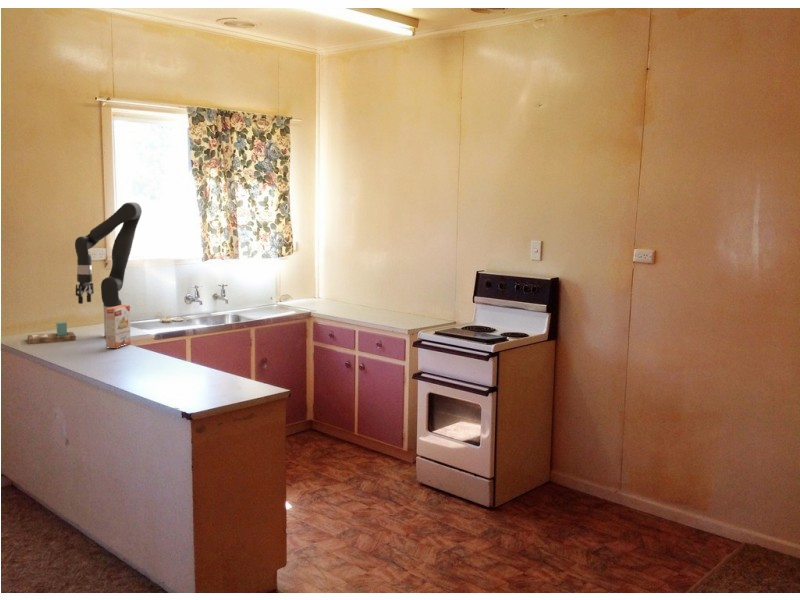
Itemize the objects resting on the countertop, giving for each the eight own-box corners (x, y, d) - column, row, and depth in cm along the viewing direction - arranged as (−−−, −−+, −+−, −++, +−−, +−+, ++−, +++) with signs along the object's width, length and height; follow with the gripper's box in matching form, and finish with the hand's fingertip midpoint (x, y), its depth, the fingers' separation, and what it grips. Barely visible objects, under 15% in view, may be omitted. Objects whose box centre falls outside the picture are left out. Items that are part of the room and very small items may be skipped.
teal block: (66, 337, 392) (65, 321, 390) (67, 339, 388) (66, 322, 387) (57, 338, 389) (56, 322, 388) (58, 340, 386) (57, 323, 384)
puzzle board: (72, 337, 397) (72, 331, 396) (75, 341, 387) (75, 335, 386) (27, 340, 386) (27, 334, 385) (29, 345, 375) (29, 338, 375)
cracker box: (116, 349, 370) (114, 309, 367) (105, 348, 371) (104, 308, 368) (131, 344, 383) (130, 305, 380) (121, 343, 384) (120, 304, 381)
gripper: (84, 274, 388) (84, 304, 390) (97, 272, 403) (98, 301, 404) (70, 273, 389) (71, 303, 391) (85, 272, 403) (85, 301, 405)
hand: (84, 302), depth 397 cm, fingers open, 8 cm apart
